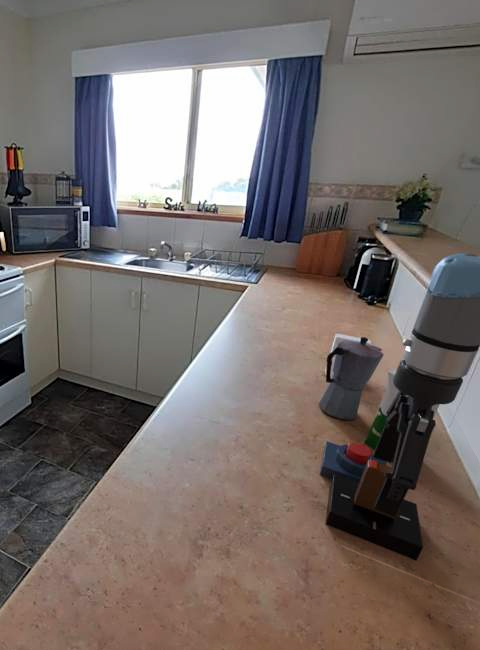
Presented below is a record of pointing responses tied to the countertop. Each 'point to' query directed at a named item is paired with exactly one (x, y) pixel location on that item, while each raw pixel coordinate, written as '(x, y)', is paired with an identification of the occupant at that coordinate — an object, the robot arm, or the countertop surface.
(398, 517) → the panel
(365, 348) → the moka pot
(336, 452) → the button block
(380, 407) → the milk carton
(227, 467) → the countertop surface
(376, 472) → the handle
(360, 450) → the button
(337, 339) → the light grey piece
